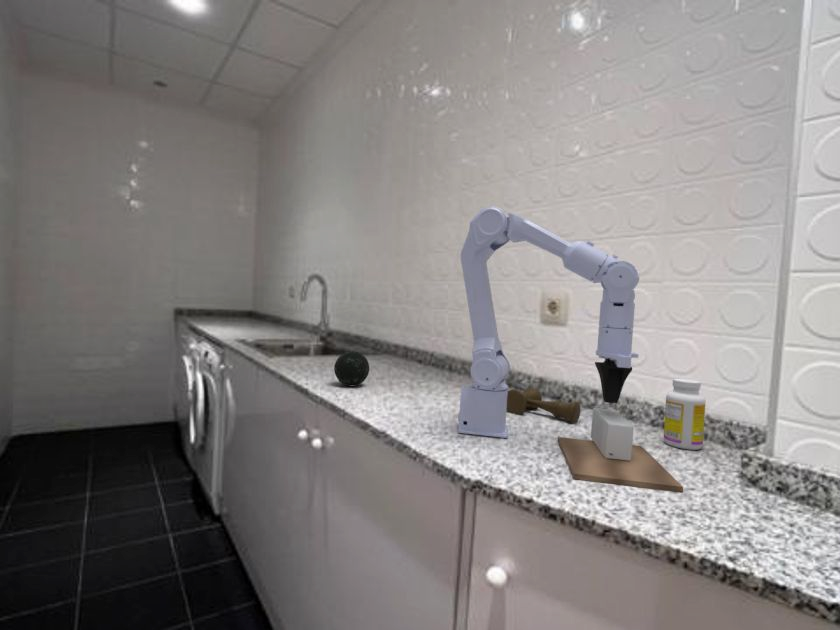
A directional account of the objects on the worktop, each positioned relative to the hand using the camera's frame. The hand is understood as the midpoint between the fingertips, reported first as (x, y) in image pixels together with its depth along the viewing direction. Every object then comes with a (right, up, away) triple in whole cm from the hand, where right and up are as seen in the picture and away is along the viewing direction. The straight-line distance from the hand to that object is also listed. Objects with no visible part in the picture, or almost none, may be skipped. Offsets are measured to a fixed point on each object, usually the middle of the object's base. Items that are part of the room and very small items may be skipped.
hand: (610, 402), depth 80 cm
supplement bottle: (+17, -10, +6) cm, 20 cm away
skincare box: (0, -5, +4) cm, 7 cm away
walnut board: (-3, -9, -7) cm, 11 cm away
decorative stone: (-55, -5, +47) cm, 72 cm away
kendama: (-7, -8, +25) cm, 27 cm away
